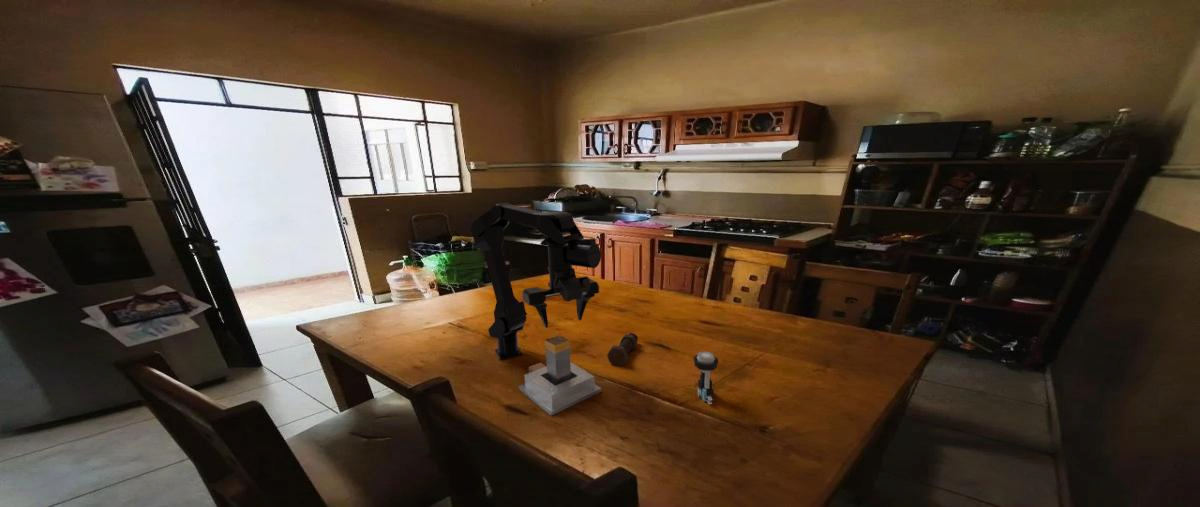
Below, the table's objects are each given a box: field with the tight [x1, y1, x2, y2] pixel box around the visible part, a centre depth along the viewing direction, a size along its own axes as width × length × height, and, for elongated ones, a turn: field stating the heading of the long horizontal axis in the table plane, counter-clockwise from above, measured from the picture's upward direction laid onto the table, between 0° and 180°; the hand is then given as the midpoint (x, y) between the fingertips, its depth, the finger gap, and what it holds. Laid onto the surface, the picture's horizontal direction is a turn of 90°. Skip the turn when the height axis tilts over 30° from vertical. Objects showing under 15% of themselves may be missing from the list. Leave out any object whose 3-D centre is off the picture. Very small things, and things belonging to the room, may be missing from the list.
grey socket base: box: [518, 361, 602, 417], centre depth 92 cm, size 18×14×4 cm
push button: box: [692, 351, 719, 405], centre depth 85 cm, size 7×5×10 cm
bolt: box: [606, 332, 639, 367], centre depth 108 cm, size 6×5×15 cm
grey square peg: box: [544, 334, 571, 386], centre depth 89 cm, size 4×4×12 cm
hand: (563, 323), depth 97 cm, fingers open, 9 cm apart
